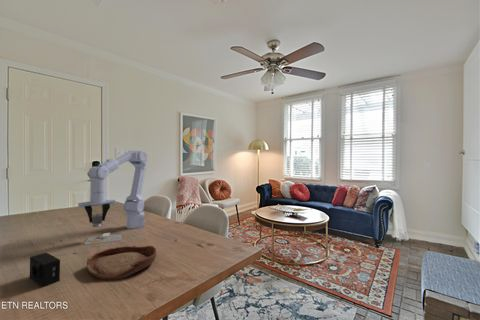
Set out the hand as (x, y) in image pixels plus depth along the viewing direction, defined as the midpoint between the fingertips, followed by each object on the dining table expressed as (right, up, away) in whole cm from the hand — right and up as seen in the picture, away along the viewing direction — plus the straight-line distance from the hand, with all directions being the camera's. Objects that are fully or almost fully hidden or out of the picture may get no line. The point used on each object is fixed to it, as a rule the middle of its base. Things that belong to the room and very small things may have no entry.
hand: (97, 221), depth 103 cm
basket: (+24, -11, -22) cm, 34 cm away
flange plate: (+3, -10, +1) cm, 10 cm away
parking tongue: (0, -10, +8) cm, 13 cm away
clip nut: (0, -2, 0) cm, 2 cm away
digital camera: (+3, -10, -33) cm, 34 cm away
